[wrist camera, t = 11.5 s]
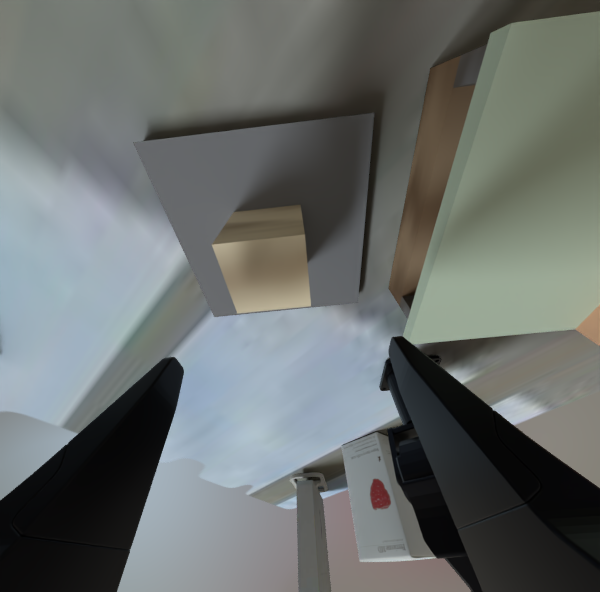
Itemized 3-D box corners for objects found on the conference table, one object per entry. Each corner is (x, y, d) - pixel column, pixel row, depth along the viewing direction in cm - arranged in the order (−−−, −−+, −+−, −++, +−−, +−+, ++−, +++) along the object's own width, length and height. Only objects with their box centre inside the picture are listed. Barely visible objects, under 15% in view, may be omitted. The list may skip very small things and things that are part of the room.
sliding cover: (578, 319, 15) (639, 359, 12) (402, 335, 15) (426, 378, 13) (906, -23, 6) (1332, -127, 4) (490, 32, 7) (618, -29, 4)
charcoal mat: (355, 295, 20) (357, 302, 19) (217, 309, 20) (214, 317, 20) (368, 113, 12) (374, 112, 11) (142, 141, 12) (133, 142, 12)
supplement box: (376, 430, 40) (413, 558, 28) (402, 441, 43) (445, 557, 32) (339, 445, 44) (358, 563, 32) (366, 454, 47) (392, 562, 36)
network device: (329, 491, 68) (341, 602, 52) (301, 494, 68) (305, 604, 52) (320, 467, 52) (334, 615, 36) (285, 471, 53) (283, 617, 37)
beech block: (305, 264, 17) (311, 306, 13) (249, 270, 17) (237, 313, 13) (300, 204, 14) (304, 234, 10) (233, 212, 14) (211, 244, 10)
